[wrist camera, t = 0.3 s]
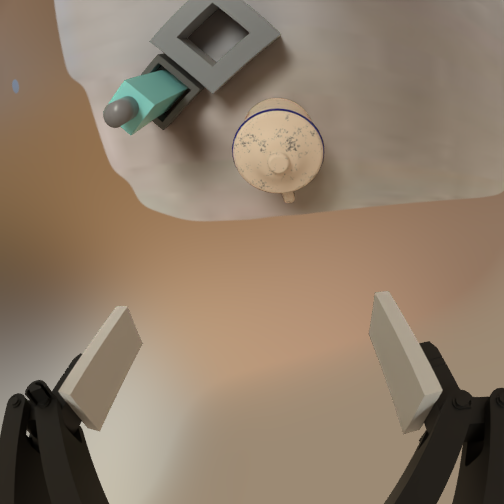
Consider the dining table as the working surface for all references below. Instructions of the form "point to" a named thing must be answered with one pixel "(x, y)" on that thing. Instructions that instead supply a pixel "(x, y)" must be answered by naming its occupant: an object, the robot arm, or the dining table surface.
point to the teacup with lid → (278, 148)
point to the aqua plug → (143, 100)
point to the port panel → (198, 62)
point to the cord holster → (183, 76)
